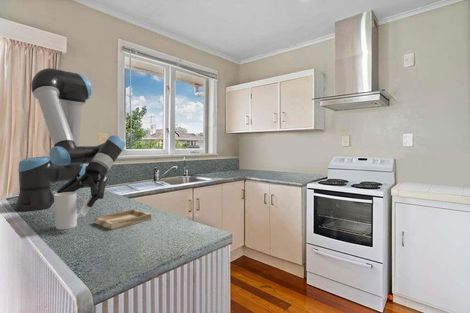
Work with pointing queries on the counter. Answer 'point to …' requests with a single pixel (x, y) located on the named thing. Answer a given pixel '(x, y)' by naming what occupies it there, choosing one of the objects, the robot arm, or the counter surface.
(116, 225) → the keeper tray
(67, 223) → the mug
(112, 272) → the counter surface
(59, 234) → the counter surface
